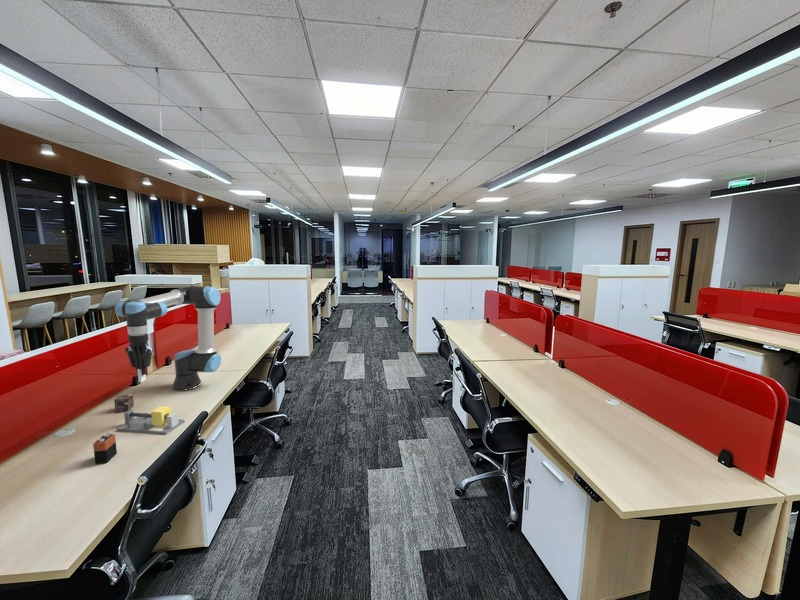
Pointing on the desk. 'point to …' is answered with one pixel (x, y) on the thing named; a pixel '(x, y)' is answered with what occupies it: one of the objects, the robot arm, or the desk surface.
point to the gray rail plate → (148, 423)
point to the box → (124, 403)
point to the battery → (105, 448)
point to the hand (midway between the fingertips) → (142, 380)
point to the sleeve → (160, 415)
